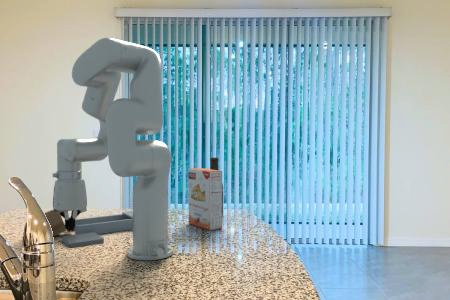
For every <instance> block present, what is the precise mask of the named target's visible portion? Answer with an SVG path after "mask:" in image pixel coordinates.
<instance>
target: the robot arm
mask: <svg viewBox="0 0 450 300" xmlns="http://www.w3.org/2000/svg"><path fill="white" fill-rule="evenodd" d="M160 57H161V56H160V55H159V54H158V52H157V51H155V50H154V49H152V48H150V47H149V46H148V47H147V46H146V45H145V46H144V45H142V44H138V43H133V42H129V41H125V40H121V39H116V38H113V37H102V38H100V39H98V40H97V41H95V42H94V43H93V44H92V45H91V46H90V47H88V48H87V49H86V50H84V52H82V53H81V54H80V55H79V56H78V58H77V59H76V60H75V61H74V63H73V66H72V69H71V78H72V80H73V82H74V84H75V85H76V86H78V87H79V86H80V87H85V88H86V90H85V93H84V97H83V101H82V103H81V109H82V110H83V112H84V113H86V114H87V115H89V116H90V117H92V118H94V119H96V120H98V122H99V132H98V135H97V137H96V138H92V137H91V138H90V137H89V138H64V139H63V138H61V139H59V140H58V141H57V143H56V156H57V157H56V158H57V159H56V167H57V169H56V172H53V173H52V178H56V180H55V181H54V184H53V194H52V210H53V212H54V211H59V212H60V215H61V217H62V219H64V225H65V227H66V230H67V232H69V233H70V232H73V231H74V232H75V230H74V228H75V219H77V217H79V215H80V214H82V213H85V212H87V211H88V210H87V207H88V198H87V197H88V196H87V188H86V181H85V179H82V178H83V177H82V174H83V173H82V169H83V168H82V163H85V162H101V161H103V160H105V159H106V158H107V157H108V163H109V166H110V169H111V171H112V172H113V174H115V176H118V177H121V178H130V177H132V178H134V177H137V178H136V179H135V182H134V184H133V188H132V211H133V229H132V247H131V246H130V248H128V249H127V250H126V255H127V257H128V258H129V259H132V260H137V261H157V260H162V259H165V258H168V257H170V256H172V255H173V254H174V247H173V246H172V245H168V244H169V237H168V236H169V232H168V231H169V230H168V229H169V228H168V227H169V225H168V222H169V221H168V220H169V217H168V215H169V213H168V212H169V210H168V209H169V208H168V207H169V205H168V202H169V201H168V200H169V191H168V189H169V186H168V185H169V176H170V170H171V165H172V152H171V149H170V148H169V147H168V145H167V144H166V143H164V142H163V141H160V140H156V139H136V136H151V135H156V134H158V133H160V132H161V131H162V129H163V126H164V112H163V111H164V110H163V109H164V108H163V107H164V106H163V98H162V97H163V96H162V85H161V84H162V71H163V70H162V68H163V67H162V66H163V65H162V60H161V58H160ZM122 73H124V74H125V73H126V74H132V75H133V76H132V79H131V80H130V83H129V95H130V98H127V97H123V98H116V99H115V97H116V94H117V92H118V88H119V85H120V82H121V79H122ZM69 212H71V213H69Z"/></svg>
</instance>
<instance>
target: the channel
mask: <svg viewBox="0 0 450 300" xmlns="http://www.w3.org/2000/svg"><path fill="white" fill-rule="evenodd" d="M127 230H133V210H132V211H131V210H130V211H123V212H122V213H120V214H110V215H103V216H94V217H93V216H92V217H86V218H83V217H82V218H76V219H75V228H74V235H76V234H83V233H91V232H95V233H97V234H98V235H100V234H106V233H114V232H122V231H127Z"/></svg>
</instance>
